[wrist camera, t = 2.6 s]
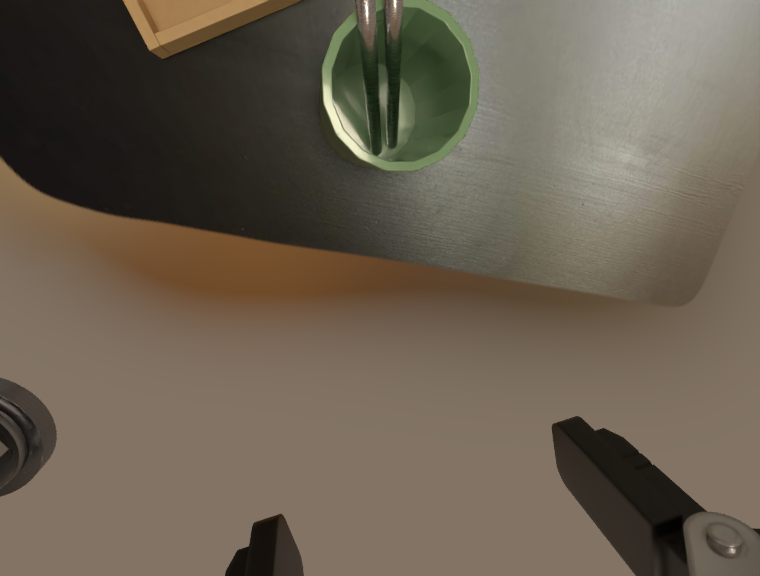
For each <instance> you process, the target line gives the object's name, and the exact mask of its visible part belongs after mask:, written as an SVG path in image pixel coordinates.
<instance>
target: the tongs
mask: <svg viewBox="0 0 760 576" xmlns="http://www.w3.org/2000/svg"><path fill="white" fill-rule="evenodd" d="M403 2H404V0H384V21H385V78H386V135H387V146H388V148H390V149H394V148H396V147H397V145H398V126H399V101H400V76H401V51H402V27H403ZM355 3H356V13H357V22H358V32H359V42H360V51H361V61H362V71H363V80H364V90H365V99H366V109H367V119H368V128H369V138H370V148H371V153H372V154H373V155H375V156H378V155H380V154H381V152H382V140H381V117H380V94H379V71H378V48H377V25H376V2H375V0H355Z"/></svg>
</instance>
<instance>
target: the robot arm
mask: <svg viewBox="0 0 760 576" xmlns="http://www.w3.org/2000/svg"><path fill="white" fill-rule="evenodd" d="M552 434H553V442H554V449H555V456H556V464H557V468H558V471H559V474H560V476H561V478H562V480H563V482H564V484H565V485H566V487H567V488H568V489H569V491H570V492H571V493H572V495H573V496H574V497H575V498H576V500H577V501H578V502H579V504H580V505H581V506H582V507H583V509H584V510H585V511H586V512H587V514H588V515H589V516H590V518H591V519H592V520H593V521H594V523H595V524H596V525H597V527H598V528H599V529H600V530H601V532H602V533H603V534H604V536H605V537H606V538H607V539H608V541H609V542H610V543H611V545H612V546H613V547H614V548H615V550H616V551H617V552H618V553H619V555H620V556H621V557H622V558H623V560H624V561H625V562H626V564H627V565H628V566H629V567H630V569H631V570H632V571H633V573H634V574H635V575H636V576H760V529H752V528H751V527H749V526H748V525H746V524H745V523H743V522H741V521H740V520H738V519H736V518H733V517H731V516H728V515H725V514H721V513H716V512H707V511H706V510H704V509H703V508H702V507H701V506H700V505H699V504H698V503H696V502H695V501H694V500H693V499H692V498H691V497H690V496H689V495H687V494H686V493H685V492H684V491H683V490H682V489H681V488H680V487H678V486H677V485H676V484H675V483H674V482H673V481H672V480H670V479H669V478H668V477H667V476H666V475H665V474H664V473H663V472H661V471H660V470H659V469H658V468H657V467H656V466H655V465H652V464H651V462H650V461H649V460H648V459H647V458H646V457H645V456H644V455H642V454H640V453H639V452H638V450H637V449H636V448H634V447H633V446H632V445H631V444H630V443H629V442H628V441H627V440H625V439H624V438H623V437H621V436H619V435H617V434H615V433H613V432H611V431H609V430H606V429H604V428H603V429H600V430H596V431H594V429H593V428H591V427H590V426H589V425H588V424H587V423H586V422H585V421H584V420H583V419H582V418H581V417H578V416H576V417H573V418H570V419H566V420H564V421H561V422H557V423H554V424H553V425H552ZM26 458H27V443H26V439H25V436H24V434H23V432H22V431H21V429H20V428H19V426H18V425H17V424H16V423H15V422H14V421H13V420H12V419H11V418H10V417H9V416H7V415H6V414H5V413H3V412H2V411H0V490H1V489H2V488H3V487H4V486H5V485H6V484H8V483H9V482H10V481H11V480H12V479H13V478H14V477H15V476H16V475H17V474H18V472H19V471H20V470H21V469H22V467H23V465H24V463H25V461H26ZM225 576H304V574H303V565H302V560H301V556H300V553H299V550H298V548H297V546H296V543H295V541H294V539H293V536H292V534H291V532H290V529H289V527H288V525H287V522H286V520H285V518H284V516H283V515H282V514H279V515H276V516H273V517H269V518H266V519H263V520H261V521H257V522H255V523H254V524H253V526H252V532H251V538H250V544H249V547H246V548H243V549H240V550H238V551H237V552H236V554H235V556H234V557H233V559H232V561H231V563H230V565H229V567H228V568H227V570H226V574H225Z"/></svg>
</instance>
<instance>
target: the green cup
mask: <svg viewBox="0 0 760 576" xmlns="http://www.w3.org/2000/svg"><path fill="white" fill-rule="evenodd" d="M375 2H376V25H377V48H378V71H379V94H380V117H381V140H382V152H381V154H380V155H378V156H375V155H373V154H372V153H371V148H370V138H369V128H368V119H367V109H366V99H365V90H364V80H363V71H362V61H361V51H360V42H359V32H358V22H357V13H356V9H355V10H354V11H353V12H352V13H351V15H350V16H349V17H348V18H347V19H346V20H345V21H344V22H343V23H342V25H341V26H340V27H339V28H338V29H337V30H336V31H335V32H334V34H333V36H332V39H331V42H330V45H329V48H328V51H327V54H326V56H325V59H324V62H323V65H322V71H321V81H320V92H319V102H318V103H319V124H320V127H321V129H322V132H323V135H324V137H325V139H326V141H327V143H328V145H329V146H330V147H331V148H332V149H333V150H334V151H335V152H336V153H337V154H338V155H339V156H340V157H341V158H342V159H343V160H345V161H348V162H350V163H352V164H355V165H357V166H359V167H363V168H370V169H377V170H384V171H417V170H419V169H422V168H424V167H426V166H428V165H431V164H433V163H435V162H438V161H440V160H442V159H443V158H445V157H446V156H447V155H448V153H449V152H450V151H451V150H452V149H453V148H454V147H455V146H456V145H457V144H458V143H459V142H460V141H461V140H462V139H463V138H464V137H465V135H466V133H467V130H468V128H469V126H470V123H471V121H472V119H473V117H474V114H475V112H476V110H477V106H478V93H479V78H480V74H479V73H480V72H479V69H478V65H477V62H476V58H475V55H474V51H473V47H472V44H471V41H470V39H469V38H468V36H467V35H466V34H465V32H464V31H463V30H462V28H461V27H460V26H459V24H458V23H457V22H456V20H455V19H454V18H453V16H452V15H451V14H449V12H447V11H445V10H444V9H442V8H440V7H438V6H437V5H435V4H433V3H431V2H430V1H428V0H404V2H403V27H402V51H401V76H400V101H399V126H398V145H397V147H396V148H394V149H390V148H388V146H387V135H386V78H385V21H384V0H375Z"/></svg>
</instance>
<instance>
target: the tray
mask: <svg viewBox="0 0 760 576" xmlns="http://www.w3.org/2000/svg"><path fill="white" fill-rule="evenodd" d="M123 1H124V3H125V5H126V7H127V9H128V11H129V13H130V15H131V17H132V18H133V20H134V22H135V24H136V26H137V28H138V30H139V32H140V34H141V36H142V37H143V39H144V41H145V43H146V45H147V47H148V49H149V50H150V51H151V52H153V53H154V54H156V55H157V56H159V57H160V58H162V59H164V58H167V57H169V56H171V55H174V54H176V53H178V52H181V51H183V50H186V49H188V48H190V47H193V46H195V45H198V44H200V43H202V42H205V41H207V40H209V39H212V38H214V37H217V36H219V35H221V34H224V33H226V32H228V31H231V30H233V29H236V28H238V27H240V26H243V25H245V24H248V23H250V22H252V21H255V20H257V19H259V18H262V17H264V16H267V15H269V14H271V13H274V12H276V11H278V10H281V9H283V8H286V7H288V6H290V5H293V4H295V3H298V2H300V1H302V0H123Z"/></svg>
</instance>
